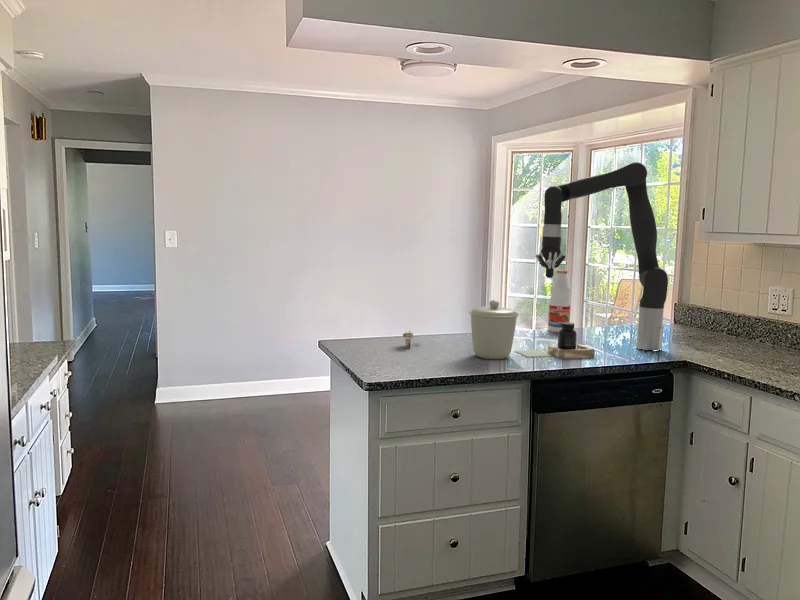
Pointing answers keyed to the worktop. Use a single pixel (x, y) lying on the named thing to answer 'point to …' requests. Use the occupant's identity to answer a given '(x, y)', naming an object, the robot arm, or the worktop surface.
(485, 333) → the canister
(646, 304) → the robot arm
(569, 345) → the supplement bottle
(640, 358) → the worktop surface
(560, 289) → the fruit juice
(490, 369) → the worktop surface
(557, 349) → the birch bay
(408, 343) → the yellow figurine
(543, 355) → the sage tile
